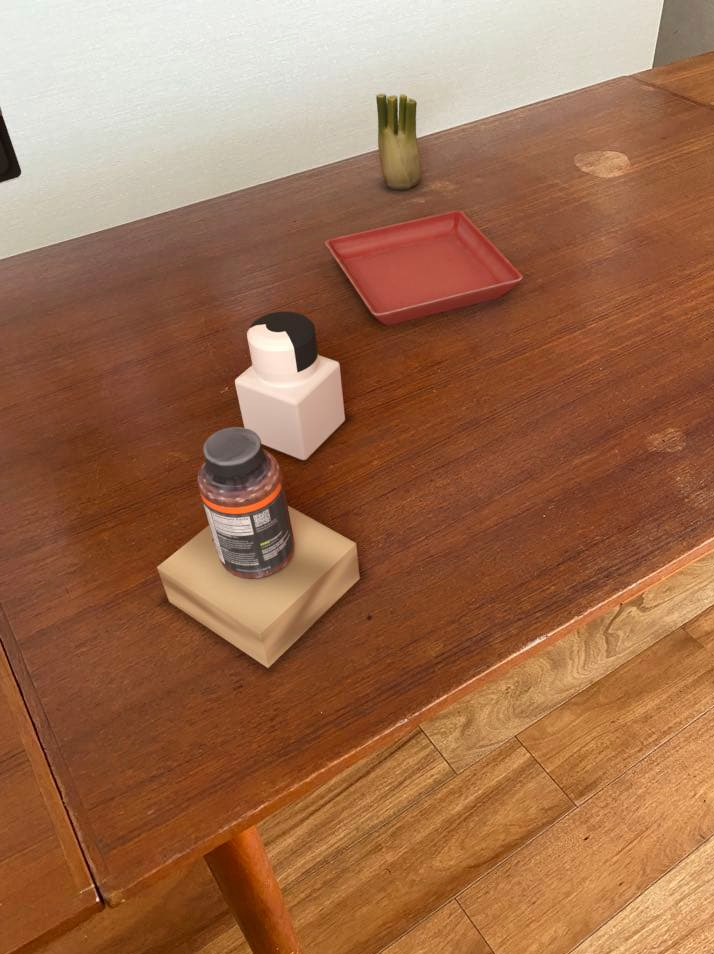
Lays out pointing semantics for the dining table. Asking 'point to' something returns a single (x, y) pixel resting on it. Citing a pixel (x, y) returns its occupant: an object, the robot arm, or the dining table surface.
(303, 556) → the block
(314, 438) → the medicine bottle
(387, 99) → the fennel bulb
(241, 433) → the supplement bottle
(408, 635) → the dining table surface
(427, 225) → the plant saucer
